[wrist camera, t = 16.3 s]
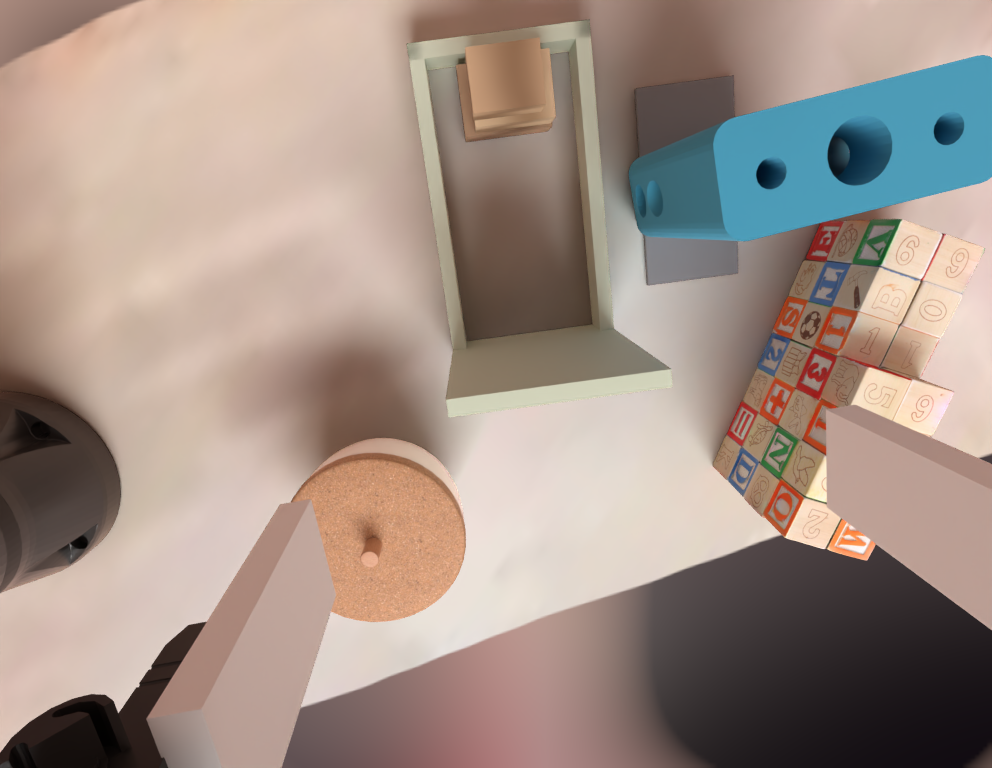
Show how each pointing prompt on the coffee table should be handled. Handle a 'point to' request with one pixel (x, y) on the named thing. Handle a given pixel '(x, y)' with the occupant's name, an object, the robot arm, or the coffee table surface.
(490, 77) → the offcut stack
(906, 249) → the stack of blocks
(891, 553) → the robot arm
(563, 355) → the frame
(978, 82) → the block
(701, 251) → the felt mat
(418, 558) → the lidded bowl
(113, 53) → the coffee table surface
